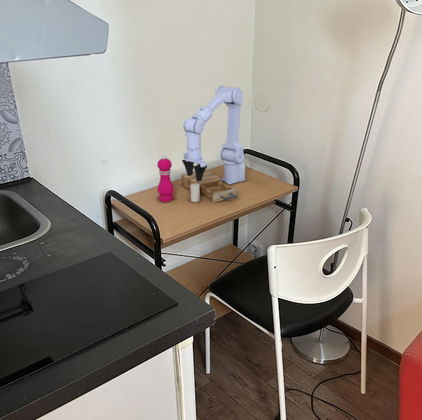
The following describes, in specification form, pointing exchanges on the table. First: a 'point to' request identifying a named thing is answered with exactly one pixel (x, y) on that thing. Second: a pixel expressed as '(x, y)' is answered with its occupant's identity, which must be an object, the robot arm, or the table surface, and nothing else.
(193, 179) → the cabinet
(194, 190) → the spice jar
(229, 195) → the drawer
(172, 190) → the pepper mill
